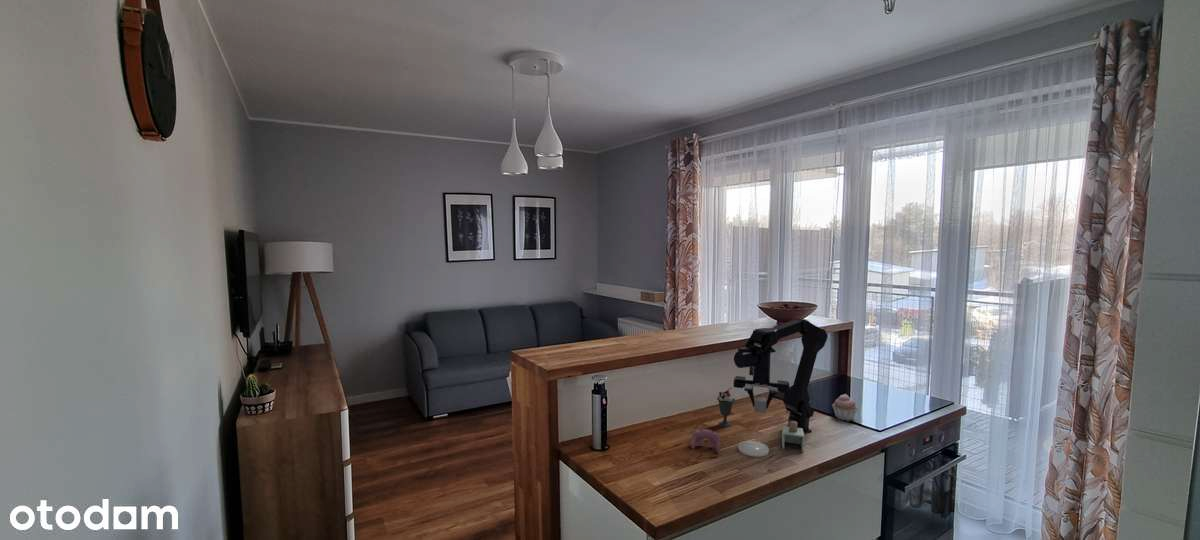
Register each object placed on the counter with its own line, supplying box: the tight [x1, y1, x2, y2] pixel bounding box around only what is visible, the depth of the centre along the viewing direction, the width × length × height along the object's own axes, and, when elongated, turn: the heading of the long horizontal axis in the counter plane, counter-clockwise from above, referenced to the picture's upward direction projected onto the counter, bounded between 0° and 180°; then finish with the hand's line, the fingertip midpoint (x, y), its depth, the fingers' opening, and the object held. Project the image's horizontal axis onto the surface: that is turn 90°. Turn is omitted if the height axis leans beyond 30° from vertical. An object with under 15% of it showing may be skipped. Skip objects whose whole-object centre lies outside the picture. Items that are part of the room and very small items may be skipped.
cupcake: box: [831, 393, 859, 422], centre depth 188 cm, size 9×9×10 cm
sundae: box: [716, 387, 736, 428], centre depth 181 cm, size 7×7×15 cm
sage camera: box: [781, 421, 805, 452], centre depth 163 cm, size 7×7×8 cm
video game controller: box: [690, 428, 722, 453], centre depth 162 cm, size 10×5×7 cm, turn 72°
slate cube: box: [753, 396, 767, 414], centre depth 169 cm, size 4×4×4 cm
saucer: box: [737, 440, 770, 458], centre depth 160 cm, size 10×10×1 cm
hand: (760, 407), depth 169 cm, fingers closed on slate cube, 4 cm apart
